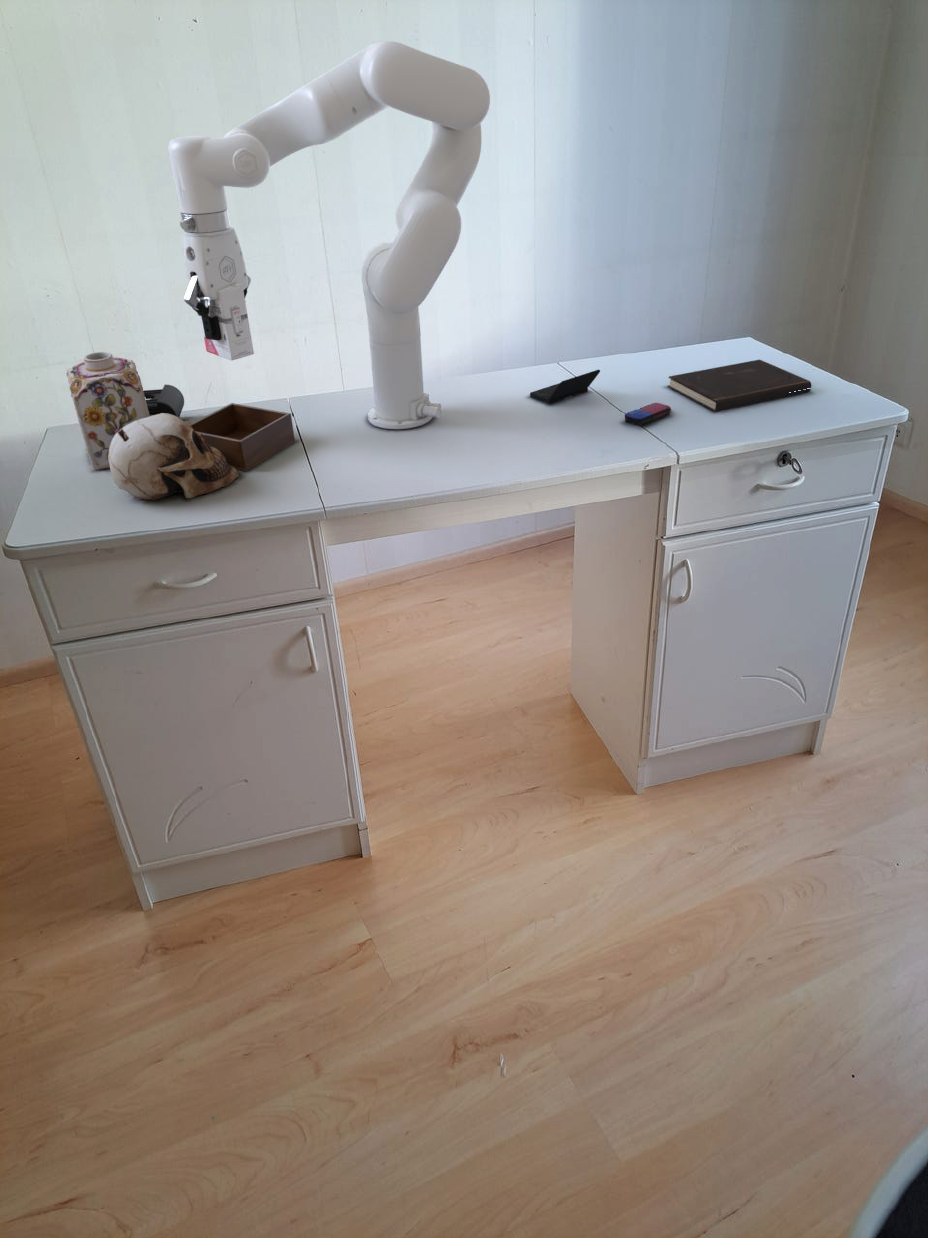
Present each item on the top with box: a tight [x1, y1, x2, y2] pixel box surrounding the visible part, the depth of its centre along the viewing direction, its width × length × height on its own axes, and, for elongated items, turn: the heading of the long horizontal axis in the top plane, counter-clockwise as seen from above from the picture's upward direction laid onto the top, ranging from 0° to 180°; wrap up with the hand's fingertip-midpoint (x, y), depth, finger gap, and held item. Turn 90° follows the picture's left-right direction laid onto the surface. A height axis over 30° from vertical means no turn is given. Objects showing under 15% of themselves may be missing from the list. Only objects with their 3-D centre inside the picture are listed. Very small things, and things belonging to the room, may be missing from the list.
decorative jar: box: [66, 351, 150, 471], centre depth 153 cm, size 12×12×18 cm
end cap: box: [143, 384, 185, 418], centre depth 166 cm, size 10×7×7 cm
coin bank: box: [108, 413, 240, 501], centre depth 142 cm, size 16×17×13 cm
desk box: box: [189, 402, 296, 472], centre depth 156 cm, size 14×14×6 cm
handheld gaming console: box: [529, 369, 601, 406], centre depth 174 cm, size 12×7×10 cm
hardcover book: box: [667, 359, 812, 412], centre depth 175 cm, size 16×23×2 cm
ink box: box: [197, 284, 255, 361], centre depth 150 cm, size 9×5×12 cm, turn 46°
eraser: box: [624, 402, 672, 427], centre depth 164 cm, size 11×4×2 cm, turn 133°
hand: (226, 332), depth 152 cm, fingers closed on ink box, 5 cm apart
